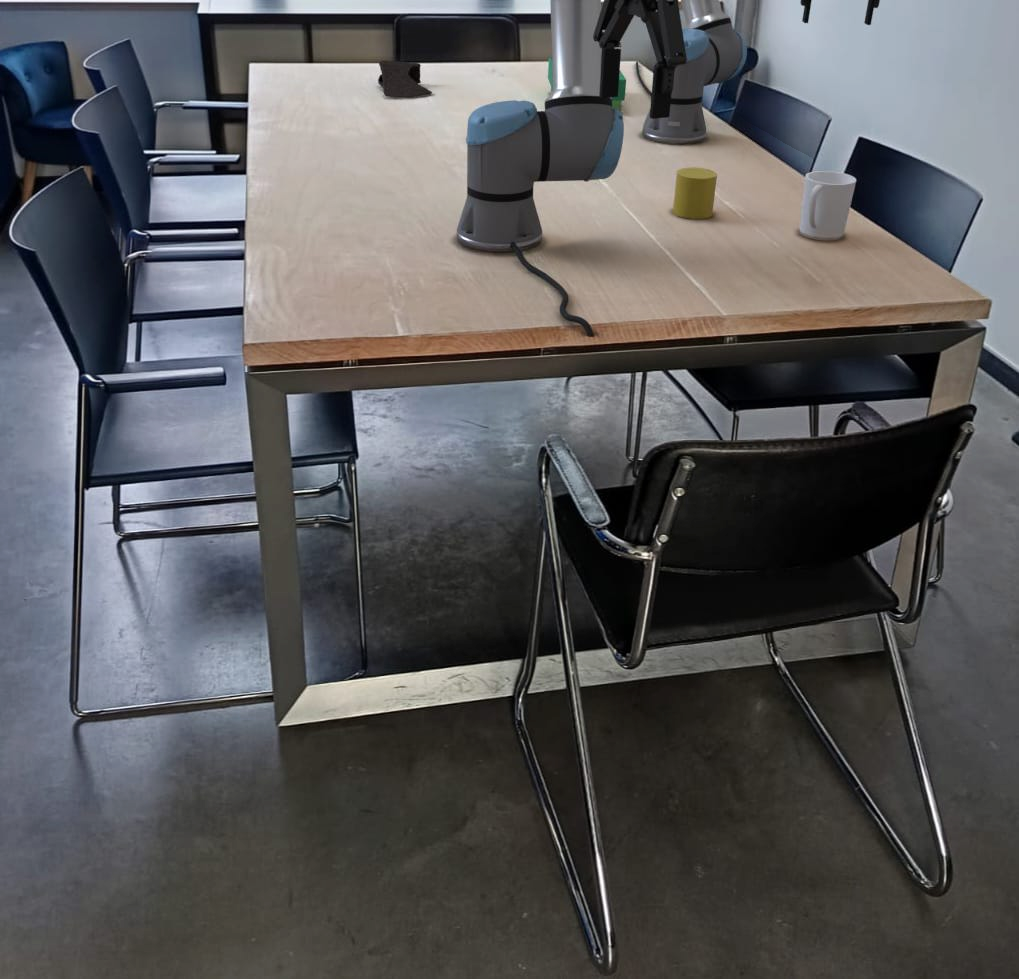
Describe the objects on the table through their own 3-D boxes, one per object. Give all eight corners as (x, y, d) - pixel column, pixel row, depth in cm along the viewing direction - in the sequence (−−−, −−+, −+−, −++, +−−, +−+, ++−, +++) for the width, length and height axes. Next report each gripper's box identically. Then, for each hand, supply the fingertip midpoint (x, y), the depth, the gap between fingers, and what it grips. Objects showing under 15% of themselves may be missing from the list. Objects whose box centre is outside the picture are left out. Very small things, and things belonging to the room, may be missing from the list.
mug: (809, 222, 208) (818, 168, 202) (854, 233, 203) (864, 177, 197) (782, 236, 200) (791, 180, 195) (827, 247, 195) (838, 190, 190)
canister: (674, 205, 216) (678, 166, 212) (713, 209, 214) (718, 169, 210) (671, 217, 209) (675, 176, 205) (710, 220, 208) (715, 179, 204)
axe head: (443, 87, 294) (392, 77, 287) (436, 115, 299) (385, 106, 292) (421, 62, 307) (371, 52, 300) (414, 89, 311) (365, 80, 304)
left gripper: (726, -53, 135) (706, 124, 146) (621, -71, 154) (610, 87, 165) (674, -51, 132) (658, 129, 143) (574, -70, 151) (567, 91, 162)
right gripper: (798, -87, 225) (782, 24, 236) (919, -83, 225) (898, 27, 236) (791, -90, 231) (776, 18, 243) (909, -86, 231) (889, 22, 242)
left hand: (633, 107), depth 154 cm, fingers open, 13 cm apart
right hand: (836, 23), depth 239 cm, fingers open, 13 cm apart
